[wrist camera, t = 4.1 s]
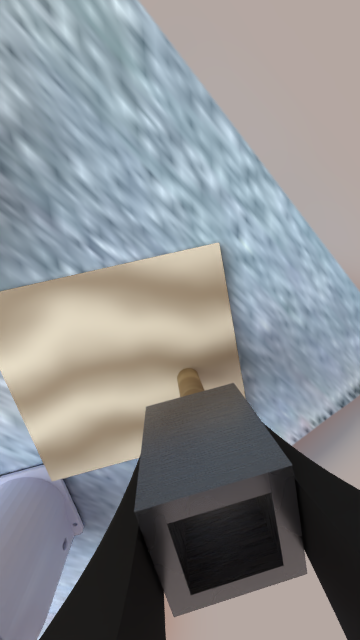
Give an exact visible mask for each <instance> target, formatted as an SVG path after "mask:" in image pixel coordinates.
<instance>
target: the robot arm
mask: <svg viewBox="0 0 360 640" xmlns="http://www.w3.org/2000/svg"><path fill="white" fill-rule="evenodd" d="M263 424H264V423H263ZM264 426H265V427H266V428H267V430H268V431H269V433H270V434H271V435H272V437H273V438H274V440H275V441H276V442H277V444H278V445H279V447H280V448H281V449H282V451H283V452H284V454H285V455H286V456H287V458H288V459H289V461H290V462H291V463H292V465H293V471H294V478H295V486H296V493H297V501H298V508H299V516H300V523H301V531H302V538H303V546H304V550H305V552H306V554H307V556H308V558H309V560H310V562H311V564H312V566H313V568H314V570H315V573H316V575H317V577H318V579H319V581H320V583H321V585H322V587H323V589H324V591H325V593H326V595H327V597H328V599H329V602H330V604H331V606H332V608H333V610H334V612H335V614H336V616H337V618H338V621H339V622H340V625H341V627H342V629H343V631H344V633H345V635H346V638H347V640H360V490H358V489H357V488H355V487H353V486H352V485H350V484H348V483H346V482H345V481H343V480H341V479H340V478H338V477H337V476H335V475H333V474H332V473H330V472H328V471H327V470H325V469H323V468H322V467H321V466H319V465H318V464H316V463H315V462H313V461H312V460H310V459H309V458H307V457H306V456H305V455H303V454H302V453H300V452H299V451H298V450H296V449H295V448H294V447H292V446H291V445H290V444H288V443H287V442H286V441H284V440H283V439H282V438H281V437H279V436H278V435H277V434H276V433H274V432H273V431H272V430H271V429H270V428H268V427H267V426H266V425H265V424H264ZM140 455H141V454H140ZM139 464H140V457H139V460H138V462H137V465H136V468H135V470H134V473H133V475H132V478H131V480H130V482H129V485H128V487H127V489H126V492H125V494H124V496H123V499H122V501H121V503H120V505H119V507H118V509H117V511H116V513H115V515H114V517H113V519H112V522H111V523H110V525H109V527H108V529H107V531H106V533H105V535H104V537H103V539H102V541H101V542H100V544H99V546H98V548H97V550H96V551H95V553H94V555H93V557H92V558H91V560H90V562H89V563H88V565H87V567H86V568H85V570H84V572H83V573H82V575H81V577H80V578H79V580H78V582H77V583H76V585H75V586H74V588H73V590H72V591H71V593H70V594H69V596H68V597H67V599H66V600H65V602H64V603H63V605H62V606H61V608H60V609H59V611H58V612H57V614H56V615H55V617H54V618H53V620H52V621H51V623H50V624H49V626H48V627H47V629H46V630H45V632H44V633H43V635H42V636H41V638H40V639H39V640H166V636H165V612H164V590H163V587H162V585H161V582H160V579H159V577H158V574H157V571H156V569H155V566H154V564H153V561H152V558H151V556H150V553H149V550H148V548H147V545H146V542H145V540H144V537H143V535H142V532H141V529H140V527H139V524H138V521H137V519H136V516H135V513H134V508H135V499H136V491H137V482H138V473H139ZM83 529H84V525H83V523H82V521H81V519H80V516H79V514H78V512H77V510H76V507H75V505H74V503H73V501H72V498H71V496H70V494H69V492H68V489H67V487H66V485H65V483H64V481H63V479H59V480H56V481H51V478H50V476H49V474H48V472H47V470H46V468H45V466H44V465H40V466H37V467H33V468H29V469H25V470H22V471H18V472H14V473H10V474H7V475H3V476H0V640H37V638H38V636H39V634H40V632H41V630H42V628H43V625H44V623H45V620H46V618H47V615H48V612H49V609H50V606H51V603H52V600H53V597H54V594H55V591H56V588H57V585H58V582H59V579H60V576H61V573H62V570H63V568H64V565H65V562H66V559H67V556H68V553H69V550H70V547H71V544H72V541H73V538H74V536H75V535H79V534H81V533H82V532H83Z"/></svg>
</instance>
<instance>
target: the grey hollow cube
mask: <svg viewBox="0 0 360 640" xmlns="http://www.w3.org/2000/svg"><path fill="white" fill-rule="evenodd" d="M134 513H135V516H136V519H137V521H138V524H139V527H140V529H141V532H142V535H143V537H144V540H145V542H146V545H147V548H148V550H149V553H150V556H151V558H152V561H153V564H154V566H155V569H156V571H157V574H158V577H159V579H160V582H161V585H162V587H163V590H164V593H165V595H166V598H167V601H168V603H169V606H170V608H171V611H172V614H173V616H174V617H176V616H179V615H182V614H185V613H188V612H191V611H195V610H198V609H201V608H204V607H207V606H210V605H213V604H216V603H219V602H222V601H225V600H228V599H231V598H235V597H237V596H240V595H244V594H246V593H249V592H253V591H256V590H259V589H262V588H265V587H268V586H271V585H274V584H277V583H280V582H284V581H287V580H290V579H292V578H296V577H299V576H302V575H305V574H307V568H306V561H305V553H304V546H303V538H302V531H301V523H300V516H299V508H298V501H297V493H296V486H295V478H294V471H293V465H292V463H291V462H290V461H289V459H288V458H287V456H286V455H285V454H284V452H283V451H282V449H281V448H280V447H279V445H278V444H277V442H276V441H275V440H274V438H273V437H272V435H271V434H270V433H269V431H268V430H267V428H266V427H265V426H264V424H263V423H262V421H261V420H260V419H259V417H258V416H257V415H256V413H255V412H254V410H253V409H252V408H251V406H250V405H249V403H248V402H247V401H246V399H245V398H244V396H243V395H242V394H241V392H240V391H239V389H238V388H237V387H236V385H235V384H234V383H231V384H227V385H224V386H220V387H216V388H213V389H209V390H205V391H201V392H198V393H194V394H190V395H187V396H183V397H179V398H176V399H172V400H168V401H165V402H161V403H157V404H154V405H150V406H146V411H145V420H144V429H143V437H142V446H141V455H140V464H139V473H138V482H137V491H136V499H135V508H134Z"/></svg>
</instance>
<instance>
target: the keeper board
mask: <svg viewBox="0 0 360 640" xmlns="http://www.w3.org/2000/svg"><path fill="white" fill-rule="evenodd" d="M0 371H1V373H2V375H3V377H4V379H5V382H6V384H7V386H8V388H9V390H10V392H11V394H12V397H13V399H14V401H15V403H16V405H17V407H18V410H19V412H20V414H21V416H22V418H23V420H24V422H25V425H26V427H27V429H28V431H29V433H30V435H31V438H32V440H33V442H34V444H35V446H36V448H37V450H38V453H39V455H40V457H41V459H42V461H43V463H44V466H45V468H46V470H47V472H48V474H49V476H50V478H51V481H56V480H59V479H63V478H67V477H70V476H74V475H78V474H81V473H85V472H89V471H92V470H96V469H100V468H103V467H107V466H111V465H114V464H118V463H121V462H125V461H129V460H132V459H136V458H139V457H140V454H141V446H142V437H143V429H144V420H145V411H146V406H150V405H154V404H157V403H161V402H165V401H168V400H172V399H176V398H179V397H183V396H187V395H190V394H194V393H198V392H201V391H205V390H209V389H213V388H216V387H220V386H224V385H227V384H231V383H234V384H235V385H236V387H237V388H238V389H239V391H240V392H241V394H242V395H243V396H244V398H245V392H244V386H243V380H242V374H241V369H240V363H239V357H238V351H237V345H236V339H235V333H234V327H233V321H232V315H231V310H230V304H229V298H228V292H227V286H226V280H225V274H224V268H223V262H222V257H221V251H220V245H219V243H214V244H210V245H206V246H201V247H197V248H192V249H188V250H183V251H179V252H174V253H170V254H165V255H161V256H156V257H152V258H147V259H143V260H139V261H134V262H130V263H125V264H121V265H116V266H112V267H107V268H103V269H98V270H94V271H89V272H85V273H81V274H76V275H72V276H67V277H63V278H58V279H54V280H49V281H45V282H40V283H36V284H31V285H27V286H22V287H18V288H14V289H9V290H5V291H0ZM245 399H246V398H245Z"/></svg>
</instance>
